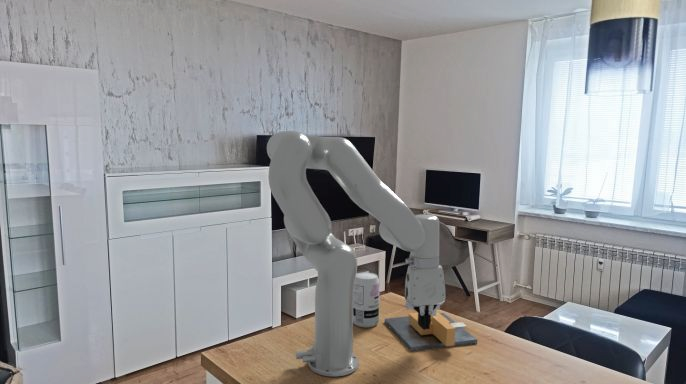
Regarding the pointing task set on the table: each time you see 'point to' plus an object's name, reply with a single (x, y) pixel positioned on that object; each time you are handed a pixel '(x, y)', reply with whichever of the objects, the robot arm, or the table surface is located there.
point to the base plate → (429, 340)
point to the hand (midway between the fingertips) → (424, 327)
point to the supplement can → (366, 300)
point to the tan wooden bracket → (436, 328)
